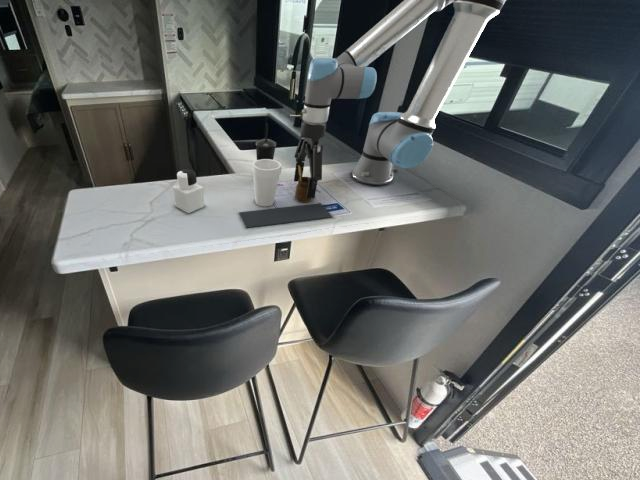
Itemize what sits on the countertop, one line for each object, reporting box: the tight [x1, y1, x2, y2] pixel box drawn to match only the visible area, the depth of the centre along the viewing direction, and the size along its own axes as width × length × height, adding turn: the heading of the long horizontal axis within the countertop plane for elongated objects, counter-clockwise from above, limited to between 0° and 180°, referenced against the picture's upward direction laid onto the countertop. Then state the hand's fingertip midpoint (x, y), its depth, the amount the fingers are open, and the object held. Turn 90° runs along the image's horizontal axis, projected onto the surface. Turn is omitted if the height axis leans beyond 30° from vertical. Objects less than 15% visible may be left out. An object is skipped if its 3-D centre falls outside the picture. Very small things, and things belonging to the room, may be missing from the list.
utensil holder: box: [294, 165, 313, 203], centre depth 111 cm, size 6×6×12 cm
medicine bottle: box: [172, 168, 205, 214], centre depth 106 cm, size 7×7×12 cm
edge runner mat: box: [238, 202, 333, 229], centre depth 106 cm, size 29×10×1 cm, turn 104°
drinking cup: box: [254, 123, 277, 161], centre depth 119 cm, size 8×8×20 cm
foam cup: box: [251, 159, 283, 207], centre depth 108 cm, size 10×9×13 cm
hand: (303, 189), depth 112 cm, fingers open, 13 cm apart
